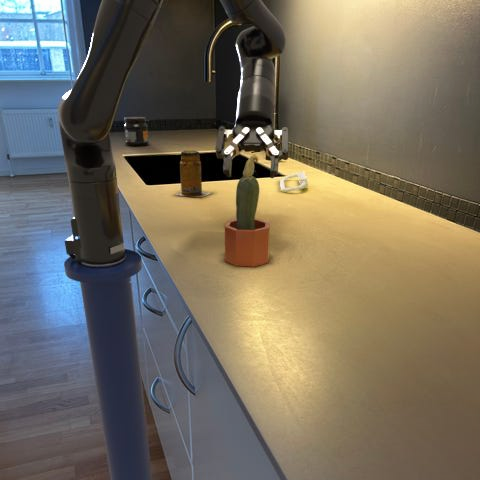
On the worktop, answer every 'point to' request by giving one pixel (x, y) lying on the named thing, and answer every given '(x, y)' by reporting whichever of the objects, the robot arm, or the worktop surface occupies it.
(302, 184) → the white open frame
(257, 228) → the utensil pot
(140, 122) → the supplement container
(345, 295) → the worktop surface
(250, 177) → the vegetable
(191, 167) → the condiment
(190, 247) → the worktop surface
